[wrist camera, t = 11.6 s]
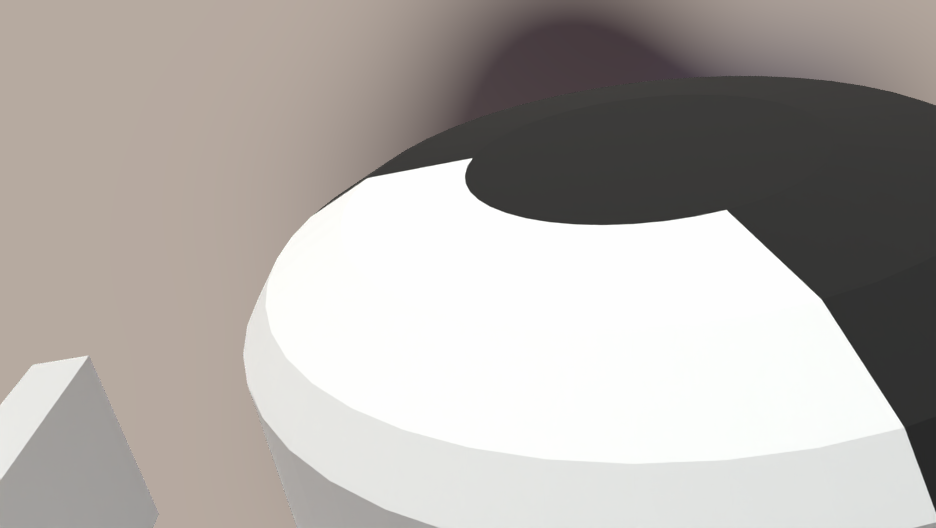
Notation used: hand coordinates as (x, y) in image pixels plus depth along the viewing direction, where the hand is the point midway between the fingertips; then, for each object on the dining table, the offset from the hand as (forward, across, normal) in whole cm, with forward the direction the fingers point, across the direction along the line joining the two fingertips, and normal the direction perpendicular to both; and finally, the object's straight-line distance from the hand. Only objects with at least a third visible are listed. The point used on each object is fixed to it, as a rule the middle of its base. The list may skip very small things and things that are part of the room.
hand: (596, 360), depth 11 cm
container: (-3, 0, -9) cm, 10 cm away
